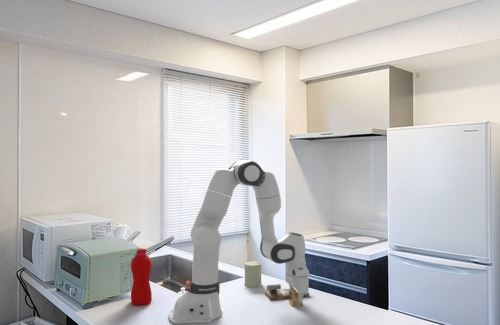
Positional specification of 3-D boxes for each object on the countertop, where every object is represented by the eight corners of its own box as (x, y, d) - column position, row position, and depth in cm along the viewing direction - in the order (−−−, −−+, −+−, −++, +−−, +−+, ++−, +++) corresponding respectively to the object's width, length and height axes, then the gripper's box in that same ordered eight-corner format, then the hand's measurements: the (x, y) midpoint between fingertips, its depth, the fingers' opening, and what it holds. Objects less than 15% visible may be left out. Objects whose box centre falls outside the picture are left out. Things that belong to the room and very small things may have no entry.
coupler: (292, 306, 174) (292, 293, 174) (288, 302, 179) (288, 289, 179) (302, 305, 176) (302, 292, 176) (299, 301, 180) (299, 289, 180)
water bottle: (127, 300, 182) (126, 247, 182) (150, 298, 186) (150, 246, 186) (127, 307, 173) (127, 252, 174) (152, 304, 177) (152, 250, 177)
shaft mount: (270, 300, 182) (270, 288, 182) (264, 294, 191) (264, 282, 191) (309, 296, 187) (309, 284, 187) (302, 290, 196) (302, 279, 196)
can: (261, 287, 201) (261, 264, 201) (244, 287, 201) (244, 264, 201) (261, 282, 210) (261, 260, 210) (244, 282, 210) (244, 260, 210)
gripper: (282, 262, 187) (282, 291, 187) (297, 274, 167) (297, 306, 167) (294, 261, 188) (294, 290, 188) (311, 273, 168) (311, 304, 168)
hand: (296, 297), depth 177 cm, fingers open, 8 cm apart
